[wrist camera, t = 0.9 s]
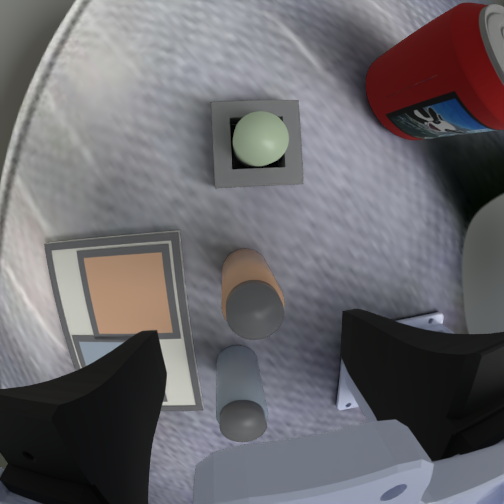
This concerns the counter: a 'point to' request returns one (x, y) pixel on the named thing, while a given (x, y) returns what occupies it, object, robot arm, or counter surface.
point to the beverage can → (443, 76)
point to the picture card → (127, 303)
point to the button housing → (284, 175)
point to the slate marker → (240, 395)
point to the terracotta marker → (250, 295)
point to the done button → (259, 139)
